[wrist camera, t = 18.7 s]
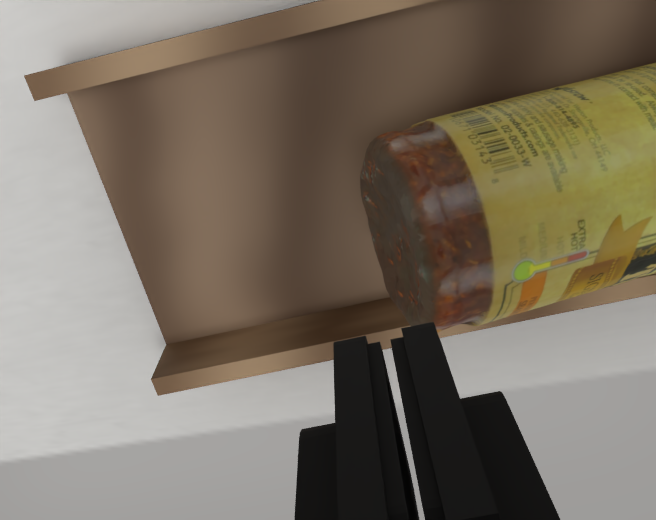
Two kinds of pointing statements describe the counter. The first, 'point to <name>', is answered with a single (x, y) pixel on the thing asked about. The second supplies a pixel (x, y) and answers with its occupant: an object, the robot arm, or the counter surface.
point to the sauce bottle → (516, 201)
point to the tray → (306, 158)
